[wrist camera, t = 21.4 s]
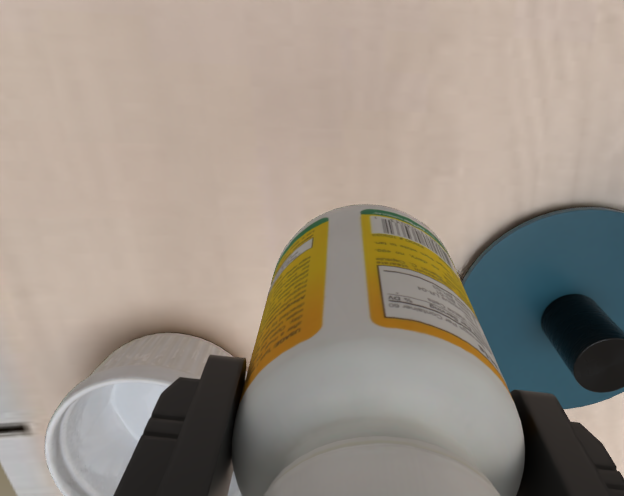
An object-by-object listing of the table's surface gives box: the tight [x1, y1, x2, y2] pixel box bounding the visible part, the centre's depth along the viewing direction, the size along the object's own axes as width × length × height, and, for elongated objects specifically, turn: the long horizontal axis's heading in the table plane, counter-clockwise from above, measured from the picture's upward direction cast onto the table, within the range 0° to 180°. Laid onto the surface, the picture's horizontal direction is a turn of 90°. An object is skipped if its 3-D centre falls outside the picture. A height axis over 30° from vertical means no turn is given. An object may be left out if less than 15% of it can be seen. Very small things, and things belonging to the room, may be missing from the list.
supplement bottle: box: [232, 204, 525, 496], centre depth 11 cm, size 5×5×10 cm
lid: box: [462, 207, 624, 409], centre depth 31 cm, size 15×15×6 cm
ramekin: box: [45, 333, 247, 496], centre depth 35 cm, size 13×13×7 cm
